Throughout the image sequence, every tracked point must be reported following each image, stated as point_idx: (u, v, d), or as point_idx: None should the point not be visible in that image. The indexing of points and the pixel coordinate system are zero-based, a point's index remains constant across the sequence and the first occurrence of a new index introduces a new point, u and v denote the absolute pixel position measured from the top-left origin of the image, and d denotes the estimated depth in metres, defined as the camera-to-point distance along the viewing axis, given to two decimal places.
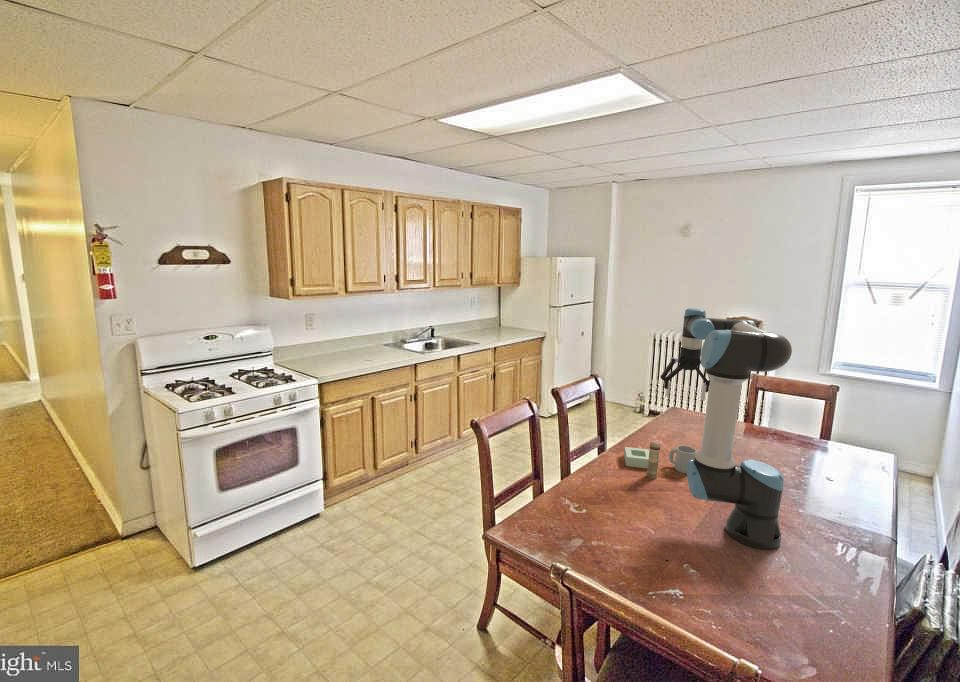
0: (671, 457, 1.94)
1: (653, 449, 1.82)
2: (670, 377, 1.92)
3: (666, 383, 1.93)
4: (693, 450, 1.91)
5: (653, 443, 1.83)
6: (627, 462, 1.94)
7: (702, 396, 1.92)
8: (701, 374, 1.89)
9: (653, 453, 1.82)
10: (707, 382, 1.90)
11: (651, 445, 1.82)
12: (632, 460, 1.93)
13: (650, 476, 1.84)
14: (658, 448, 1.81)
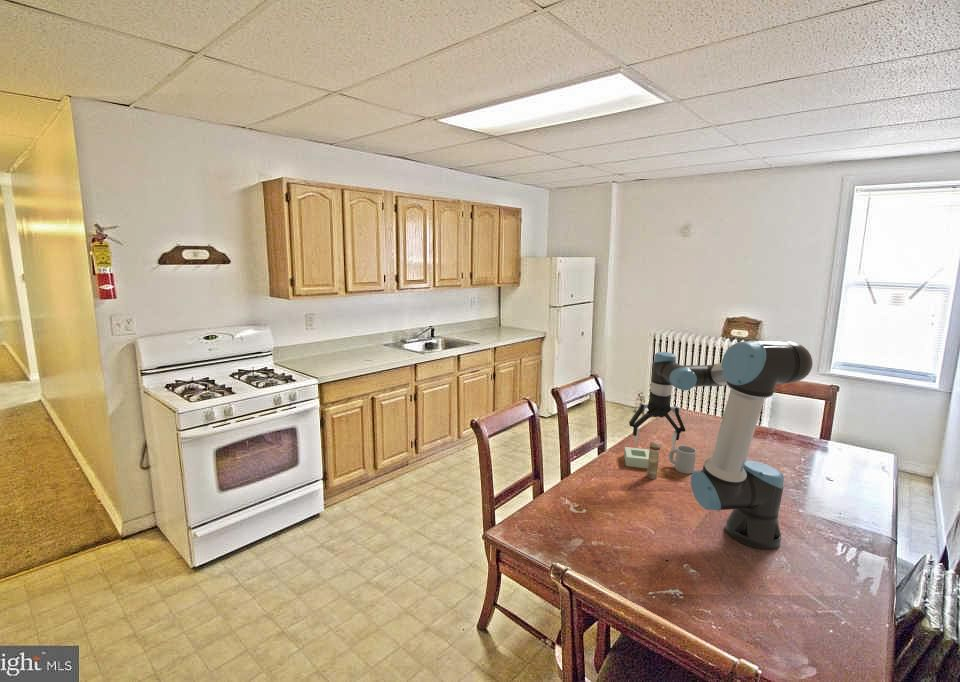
0: (671, 457, 1.94)
1: (653, 449, 1.82)
2: (639, 424, 1.82)
3: (635, 430, 1.83)
4: (693, 450, 1.91)
5: (653, 443, 1.83)
6: (627, 462, 1.94)
7: (672, 444, 1.81)
8: (671, 421, 1.79)
9: (653, 453, 1.82)
10: (677, 430, 1.79)
11: (651, 445, 1.82)
12: (632, 460, 1.93)
13: (650, 476, 1.84)
14: (658, 448, 1.81)
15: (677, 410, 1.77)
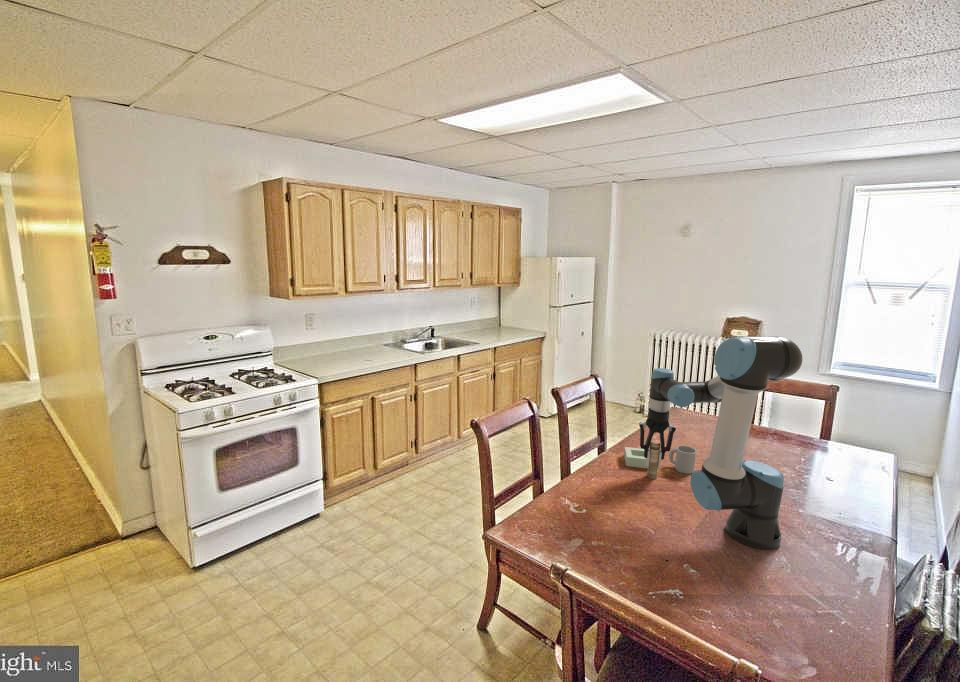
0: (671, 457, 1.94)
1: (653, 449, 1.82)
2: (648, 445, 1.82)
3: (646, 452, 1.83)
4: (693, 450, 1.91)
5: (653, 443, 1.83)
6: (627, 462, 1.94)
7: (658, 463, 1.84)
8: (662, 439, 1.81)
9: (653, 453, 1.82)
10: (663, 449, 1.81)
11: (651, 445, 1.82)
12: (632, 460, 1.93)
13: (650, 476, 1.84)
14: (658, 448, 1.81)
15: (674, 430, 1.79)
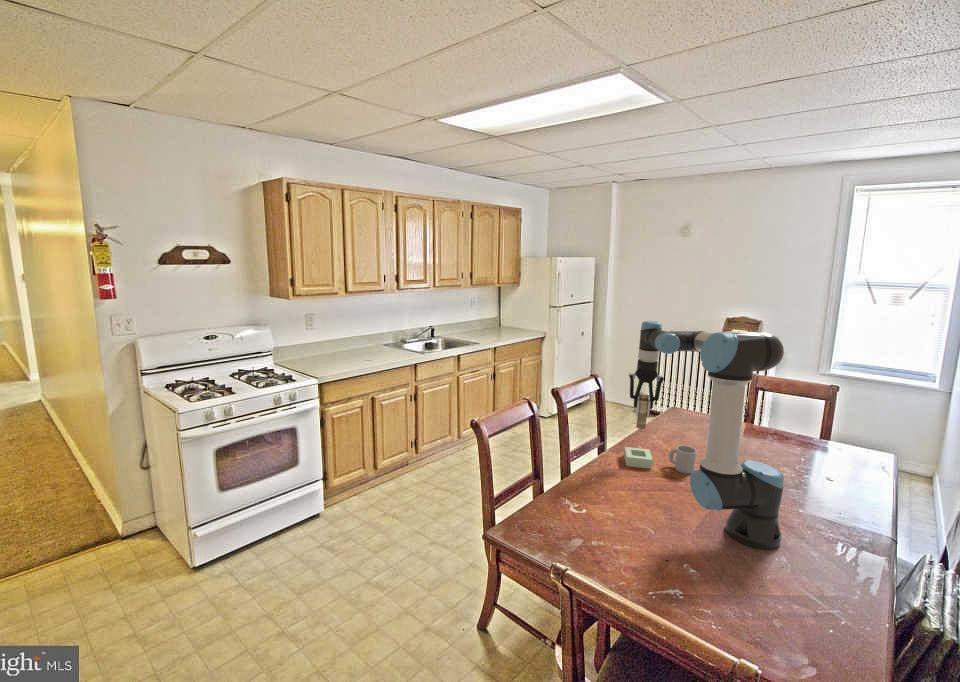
0: (671, 457, 1.94)
1: (642, 400, 1.91)
2: (637, 395, 1.91)
3: (635, 402, 1.92)
4: (693, 450, 1.91)
5: (642, 395, 1.92)
6: (627, 462, 1.94)
7: (647, 413, 1.93)
8: (651, 389, 1.90)
9: (642, 403, 1.91)
10: (652, 399, 1.90)
11: (640, 396, 1.91)
12: (632, 460, 1.93)
13: (639, 426, 1.93)
14: (647, 399, 1.91)
15: (662, 380, 1.88)
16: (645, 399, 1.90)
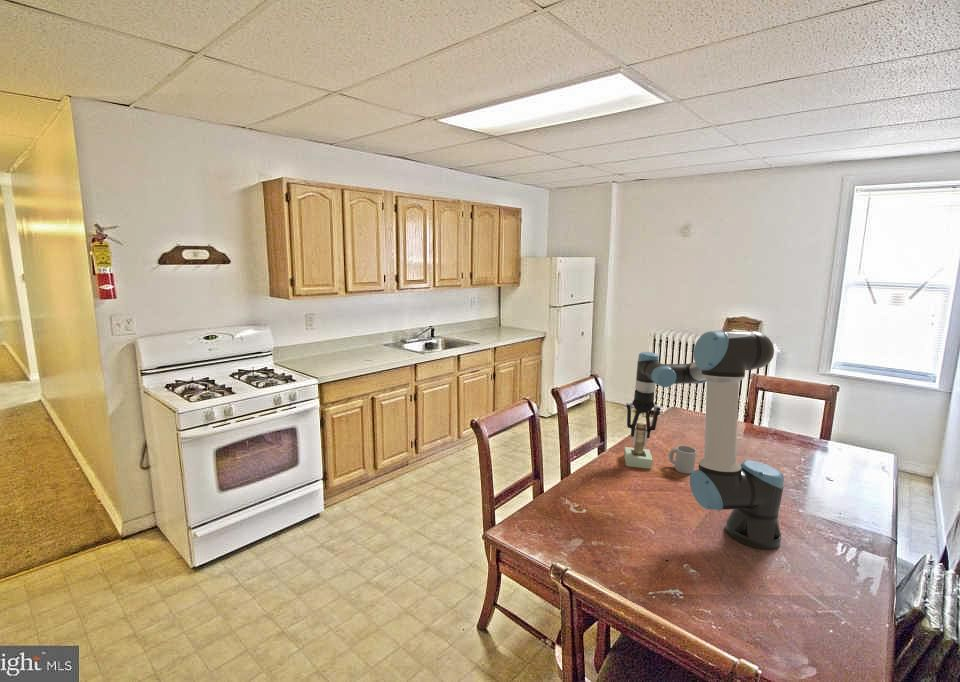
0: (671, 457, 1.94)
1: (639, 429, 1.94)
2: (634, 424, 1.94)
3: (632, 431, 1.95)
4: (693, 450, 1.91)
5: (639, 424, 1.95)
6: (627, 462, 1.94)
7: (644, 442, 1.95)
8: (648, 419, 1.92)
9: (639, 433, 1.94)
10: (649, 428, 1.93)
11: (637, 426, 1.94)
12: (632, 460, 1.93)
13: (636, 455, 1.96)
14: (644, 429, 1.93)
15: (658, 410, 1.91)
16: (642, 429, 1.93)
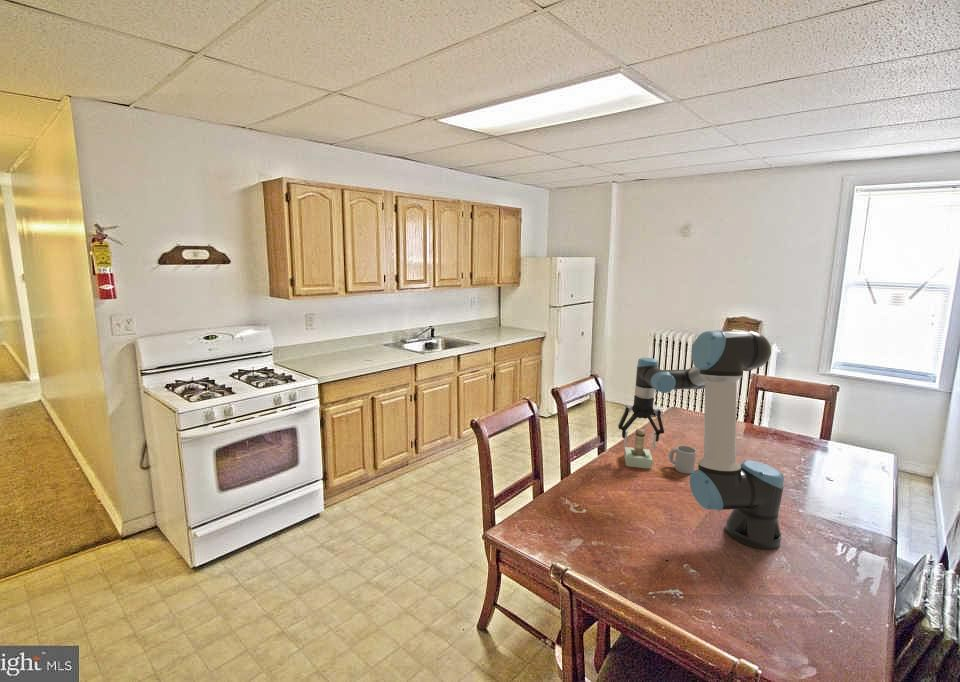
0: (671, 457, 1.94)
1: (638, 436, 1.94)
2: (626, 426, 1.95)
3: (623, 432, 1.96)
4: (693, 450, 1.91)
5: (638, 430, 1.95)
6: (627, 462, 1.94)
7: (652, 445, 1.95)
8: (652, 423, 1.92)
9: (639, 439, 1.94)
10: (657, 432, 1.93)
11: (637, 432, 1.95)
12: (632, 460, 1.93)
13: None
14: (643, 435, 1.94)
15: (659, 413, 1.91)
16: (641, 435, 1.94)
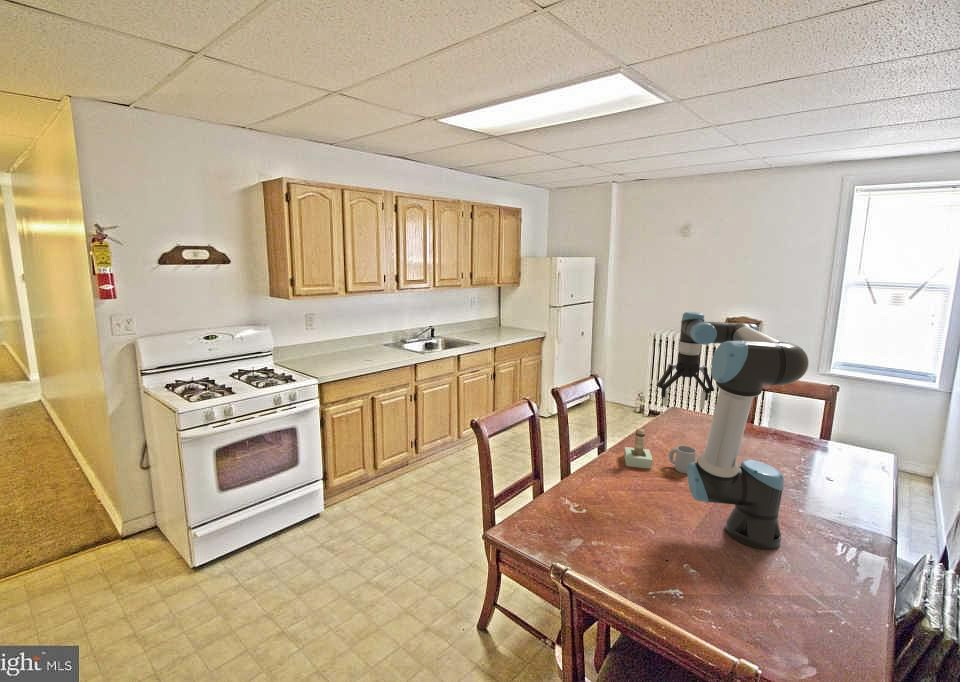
0: (671, 457, 1.94)
1: (638, 436, 1.94)
2: (668, 385, 1.82)
3: (663, 391, 1.83)
4: (693, 450, 1.91)
5: (639, 430, 1.95)
6: (627, 462, 1.94)
7: (701, 405, 1.82)
8: (700, 381, 1.79)
9: (639, 439, 1.94)
10: (706, 390, 1.80)
11: (637, 432, 1.95)
12: (632, 460, 1.93)
13: None
14: (643, 435, 1.94)
15: (706, 369, 1.78)
16: (641, 435, 1.94)
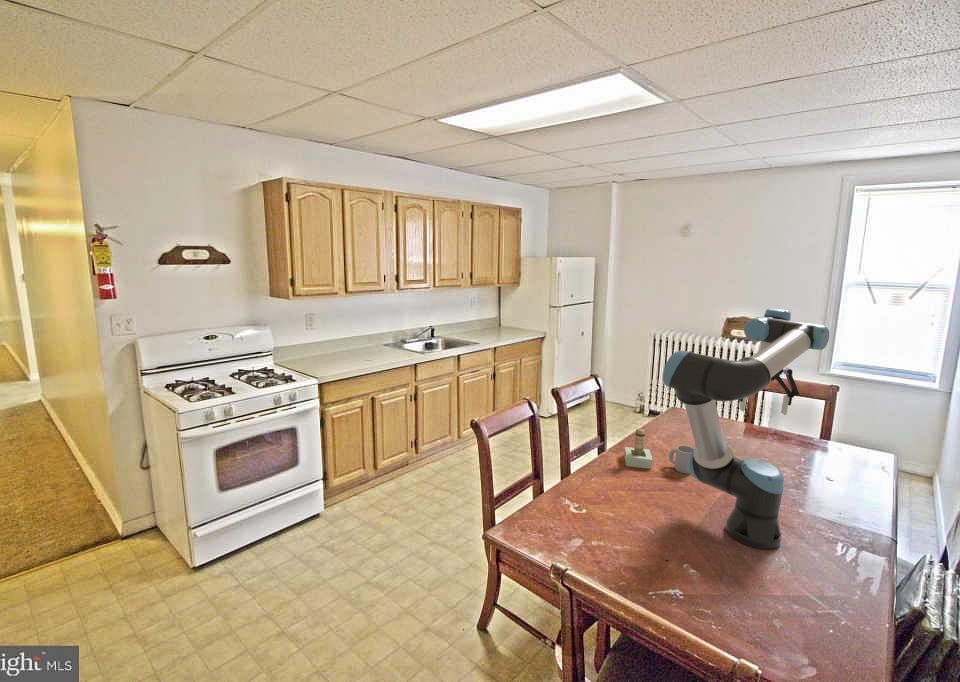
0: (671, 457, 1.94)
1: (638, 436, 1.94)
2: None
3: None
4: None
5: (639, 430, 1.95)
6: (627, 462, 1.94)
7: (783, 410, 1.67)
8: (783, 385, 1.64)
9: (639, 439, 1.94)
10: (790, 394, 1.64)
11: (637, 432, 1.94)
12: (632, 460, 1.93)
13: None
14: (643, 435, 1.94)
15: (790, 372, 1.63)
16: (641, 435, 1.94)
